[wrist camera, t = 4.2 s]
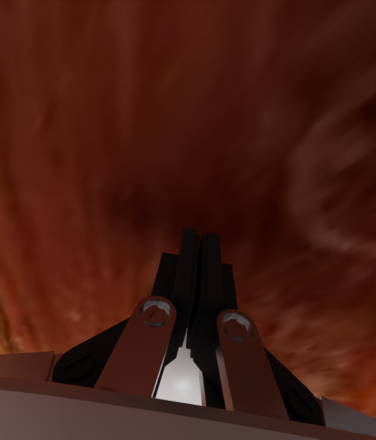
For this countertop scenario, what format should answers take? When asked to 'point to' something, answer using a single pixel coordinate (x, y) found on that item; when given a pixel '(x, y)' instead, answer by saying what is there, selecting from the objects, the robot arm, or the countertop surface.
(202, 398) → the robot arm
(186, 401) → the cue ball
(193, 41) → the countertop surface
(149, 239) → the countertop surface
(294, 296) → the countertop surface
